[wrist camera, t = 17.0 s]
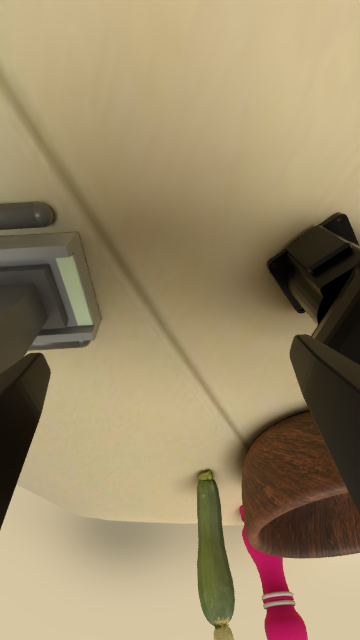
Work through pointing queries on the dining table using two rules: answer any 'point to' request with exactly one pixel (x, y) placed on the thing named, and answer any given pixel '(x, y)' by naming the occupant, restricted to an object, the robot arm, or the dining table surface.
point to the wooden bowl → (297, 494)
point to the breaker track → (53, 272)
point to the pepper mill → (276, 596)
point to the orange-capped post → (26, 309)
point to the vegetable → (213, 560)
